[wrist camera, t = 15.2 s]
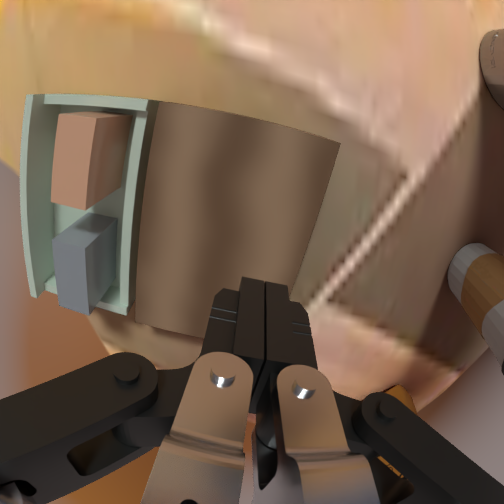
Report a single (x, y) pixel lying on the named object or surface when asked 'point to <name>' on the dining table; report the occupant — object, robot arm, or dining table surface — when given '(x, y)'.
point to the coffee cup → (481, 292)
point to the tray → (114, 205)
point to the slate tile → (85, 261)
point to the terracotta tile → (88, 157)
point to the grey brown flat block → (223, 210)
